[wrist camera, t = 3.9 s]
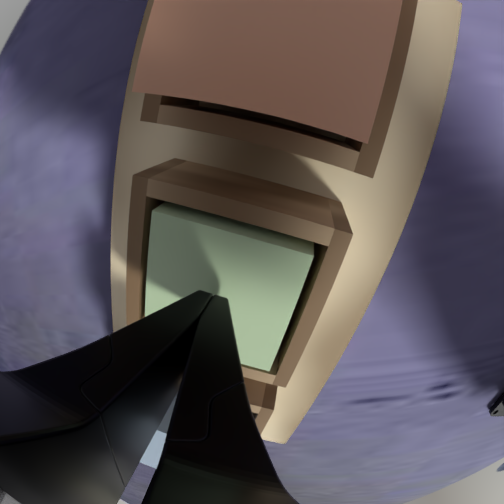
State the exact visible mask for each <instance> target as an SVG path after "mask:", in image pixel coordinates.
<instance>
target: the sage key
mask: <svg viewBox="0 0 504 504" xmlns="http://www.w3.org/2000/svg"><path fill="white" fill-rule="evenodd" d="M313 257H314V243H313V242H312V241H308V240H305V239H302V238H298V237H295V236H291V235H288V234H284V233H281V232H277V231H274V230H270V229H267V228H263V227H260V226H256V225H253V224H249V223H245V222H242V221H238V220H235V219H231V218H227V217H224V216H220V215H216V214H213V213H209V212H205V211H201V210H198V209H194V208H190V207H186V206H183V205H179V204H175V203H171V202H167V201H165V202H164V203H162V204H161V205H159V206H158V207H157V208H155V209H154V210H152V216H151V226H150V236H149V248H148V262H147V277H146V297H145V317H146V316H148V315H150V314H152V313H154V312H156V311H158V310H160V309H162V308H164V307H166V306H168V305H170V304H172V303H174V302H176V301H178V300H180V299H182V298H184V297H186V296H188V295H190V294H192V293H194V292H196V291H198V290H202V291H206V292H209V293H212V294H213V296H214V295H219V296H222V297H225V298H227V299H228V300H229V306H230V311H231V316H232V321H233V327H234V332H235V337H236V342H237V347H238V352H239V357H240V362H241V364H244V365H248V366H251V367H255V368H258V369H262V370H266V371H270V369H271V366H272V364H273V361H274V359H275V356H276V354H277V352H278V349H279V347H280V344H281V342H282V339H283V337H284V334H285V332H286V329H287V327H288V324H289V322H290V319H291V316H292V314H293V311H294V309H295V306H296V303H297V301H298V298H299V295H300V293H301V290H302V287H303V285H304V282H305V279H306V277H307V274H308V271H309V268H310V266H311V263H312V260H313Z"/></svg>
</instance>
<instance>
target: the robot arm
mask: <svg viewBox="0 0 504 504" xmlns="http://www.w3.org/2000/svg"><path fill="white" fill-rule="evenodd" d="M177 392H178V394H177ZM176 394H177V398H176V401H175V405H174V409H173V412H172V416H171V420H170V423H169V427H168V431H167V435H166V438H165V443H164V446H163V450H162V453H161V457H160V460H159V463H158V466H157V468H156V470H155V473H154V475H153V478H152V480H151V482H150V485H149V487H148V489H147V492H146V494H145V496H144V499H143V501H142V503H141V504H299V503H298V502H297V501H296V500H295V499H294V498H293V497H292V496H291V495H290V494H289V493H288V492H287V490H286V489H285V488H284V486H283V485H282V483H281V481H280V479H279V477H278V475H277V473H276V471H275V469H274V466H273V464H272V462H271V459H270V457H269V454H268V452H267V450H266V447H265V445H264V442H263V440H262V438H261V435H260V433H259V430H258V428H257V425H256V422H255V419H254V416H253V413H252V410H251V406H250V403H249V399H248V395H247V390H246V385H245V383H244V377H243V372H242V367H241V362H240V357H239V352H238V347H237V342H236V337H235V332H234V327H233V321H232V316H231V311H230V306H229V300H228V299H227V298H225V297H222V296H219V295H214V296H213V294H212V293H209V292H206V291H202V290H198V291H196V292H194V293H192V294H190V295H188V296H186V297H184V298H182V299H180V300H178V301H176V302H174V303H172V304H170V305H168V306H166V307H164V308H162V309H160V310H158V311H156V312H154V313H152V314H150V315H148V316H146V317H144V318H142V319H140V320H138V321H136V322H134V323H132V324H130V325H127V326H125V327H123V328H121V329H119V330H117V331H115V332H113V333H111V334H110V336H109V335H107V336H105V337H103V338H101V339H99V340H97V341H95V342H92V343H90V344H88V345H86V346H84V347H81V348H79V349H76V350H74V351H71V352H68V353H66V354H63V355H60V356H58V357H55V358H52V359H49V360H46V361H43V362H40V363H37V364H35V365H32V366H29V367H26V368H23V369H19V370H15V371H6V372H2V371H0V504H117V502H118V500H119V499H120V497H121V495H122V493H123V491H124V490H125V487H126V486H127V484H128V482H129V480H130V478H131V477H132V475H133V473H134V471H135V469H136V467H137V466H138V464H139V462H140V460H141V458H142V456H143V455H144V453H145V451H146V449H147V447H148V445H149V443H150V442H151V440H152V438H153V436H154V434H155V432H156V431H157V429H158V427H159V425H160V423H161V421H162V420H163V418H164V416H165V414H166V412H167V410H168V409H169V407H170V405H171V403H172V401H173V399H174V397H175V396H176ZM489 413H490V415H491V416H504V394H503V395H502V397H501V398H500V399H499V400H498V401H497V402H496V403H495V404H494V405H493V406H492V408H491V409H490V410H489Z"/></svg>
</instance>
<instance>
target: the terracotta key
mask: <svg viewBox="0 0 504 504" xmlns="http://www.w3.org/2000/svg"><path fill="white" fill-rule="evenodd" d="M402 1H403V0H154V3H153V6H152V9H151V13H150V16H149V20H148V23H147V27H146V31H145V35H144V38H143V42H142V46H141V51H140V55H139V59H138V64H137V68H136V73H135V78H134V83H133V88H132V92H139V93H148V94H157V95H165V96H172V97H179V98H186V99H193V100H199V101H205V102H210V103H216V104H221V105H226V106H232V107H236V108H241V109H246V110H250V111H255V112H259V113H264V114H268V115H272V116H276V117H280V118H284V119H288V120H292V121H295V122H299V123H303V124H306V125H310V126H313V127H317V128H320V129H323V130H327V131H330V132H333V133H336V134H339V135H342V136H345V137H348V138H351V139H354V140H357V141H360V142H363V143H366V144H368V141H369V138H370V134H371V131H372V127H373V124H374V120H375V117H376V113H377V110H378V106H379V102H380V99H381V95H382V91H383V87H384V83H385V79H386V75H387V71H388V67H389V63H390V59H391V54H392V50H393V45H394V41H395V36H396V32H397V27H398V22H399V17H400V12H401V7H402Z"/></svg>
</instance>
